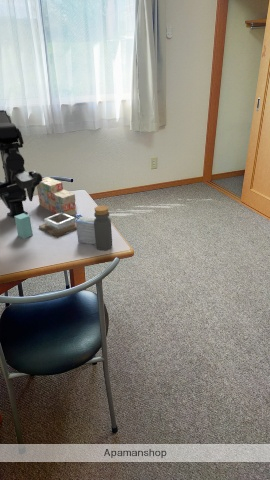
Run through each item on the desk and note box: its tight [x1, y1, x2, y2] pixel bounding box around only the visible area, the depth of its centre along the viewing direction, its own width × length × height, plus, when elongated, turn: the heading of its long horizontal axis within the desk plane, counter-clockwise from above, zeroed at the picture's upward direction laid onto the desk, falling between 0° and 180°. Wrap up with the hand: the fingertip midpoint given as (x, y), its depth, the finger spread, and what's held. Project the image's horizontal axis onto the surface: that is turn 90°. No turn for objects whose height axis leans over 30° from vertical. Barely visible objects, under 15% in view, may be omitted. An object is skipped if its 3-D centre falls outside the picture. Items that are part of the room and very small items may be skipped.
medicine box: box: [75, 216, 96, 245], centre depth 129 cm, size 8×4×9 cm, turn 73°
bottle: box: [93, 205, 113, 252], centre depth 123 cm, size 6×6×15 cm
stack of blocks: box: [36, 176, 77, 216], centre depth 155 cm, size 21×6×12 cm, turn 43°
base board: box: [38, 220, 77, 238], centre depth 141 cm, size 12×12×1 cm
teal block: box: [14, 213, 34, 239], centre depth 134 cm, size 4×4×8 cm
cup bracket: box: [43, 212, 76, 232], centre depth 141 cm, size 8×8×3 cm
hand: (20, 204), depth 130 cm, fingers open, 9 cm apart
